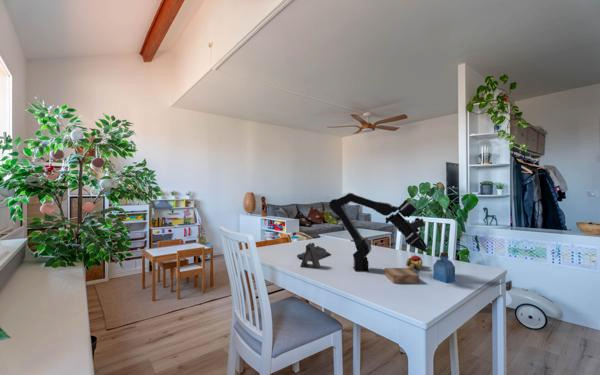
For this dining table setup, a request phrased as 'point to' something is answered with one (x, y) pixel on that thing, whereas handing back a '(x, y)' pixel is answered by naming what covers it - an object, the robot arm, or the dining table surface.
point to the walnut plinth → (401, 275)
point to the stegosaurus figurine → (319, 251)
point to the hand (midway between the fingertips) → (426, 249)
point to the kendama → (414, 262)
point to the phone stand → (311, 251)
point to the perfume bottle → (444, 269)
